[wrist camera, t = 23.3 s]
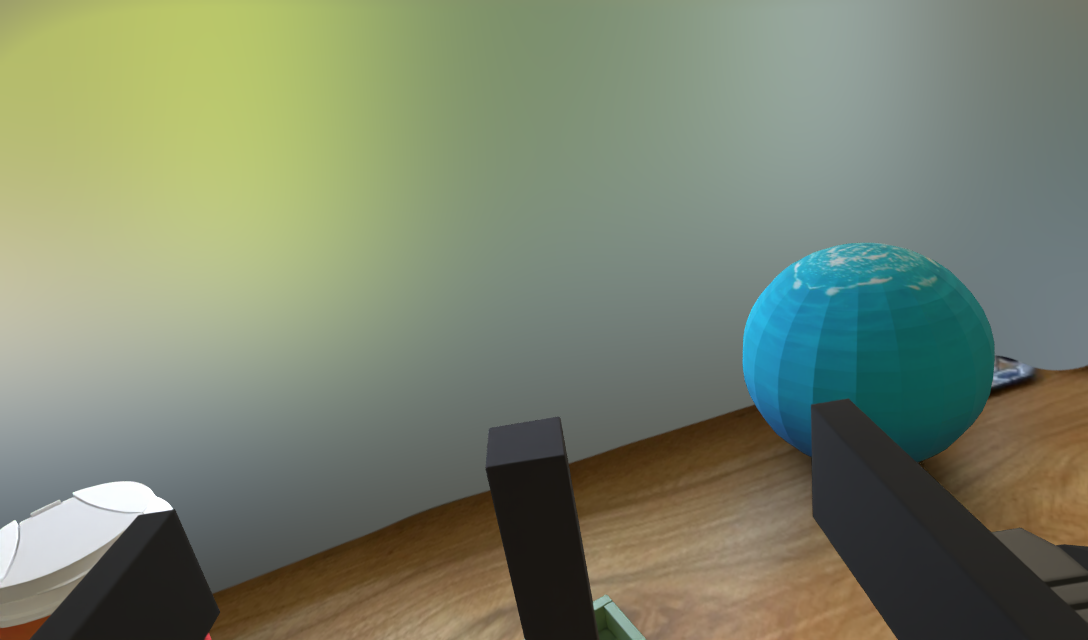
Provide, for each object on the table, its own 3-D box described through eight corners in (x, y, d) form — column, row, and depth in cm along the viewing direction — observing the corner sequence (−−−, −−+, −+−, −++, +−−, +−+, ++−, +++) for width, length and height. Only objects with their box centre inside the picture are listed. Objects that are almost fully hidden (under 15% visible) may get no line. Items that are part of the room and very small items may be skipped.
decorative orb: (1036, 454, 42) (1063, 232, 37) (886, 557, 36) (894, 309, 31) (838, 381, 55) (838, 209, 49) (704, 448, 49) (687, 260, 44)
